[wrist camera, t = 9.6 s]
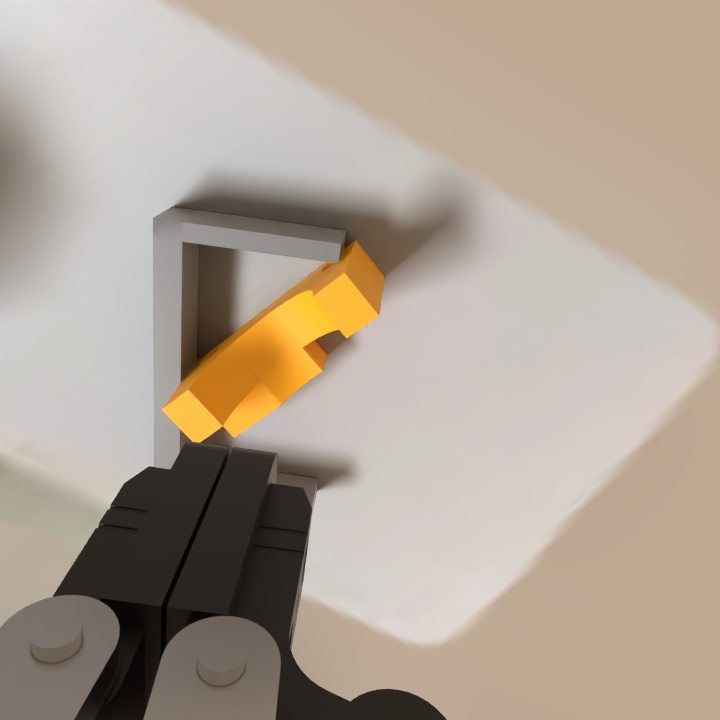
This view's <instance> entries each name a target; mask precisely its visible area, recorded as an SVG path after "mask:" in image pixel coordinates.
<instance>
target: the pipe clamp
mask: <svg viewBox="0 0 720 720" xmlns="http://www.w3.org/2000/svg"><path fill="white" fill-rule="evenodd" d="M384 278H385V277H384V275H383V274H382V273H381V272H380V270H379V269H378V268H377V267H376V265H375V264H374V263H373V261H372V260H371V259H370V258H369V256H368V255H367V254H366V253H365V251H364V250H363V249H362V247H361V246H360V245H359V244H358V242H357V241H356V240H355V241H354V242H352V243H351V244H350V245H349V246H347V247H346V248H345V249H344V251H343V254H342V256H341V259H340V261H339V263H333V262H326V263H325V264H324V265H322V266H321V267H320V268H318V269H317V270H316V271H314V272H313V273H312V274H310V275H309V276H308V277H307V278H305V279H304V280H303V281H301V282H300V283H299V284H297V285H296V286H295V287H293V288H292V289H291V290H290V291H288V292H287V293H286V294H284V295H283V296H282V297H280V298H279V299H278V300H276V301H275V302H274V303H272V304H271V305H270V306H269V307H267V308H266V309H265V310H263V311H262V312H261V313H259V314H258V315H257V316H255V317H254V318H253V319H251V320H250V321H249V322H248V323H246V324H245V325H244V326H242V327H241V328H240V329H238V330H237V331H236V332H234V333H233V334H232V335H230V336H229V337H228V338H227V339H225V340H224V341H223V342H221V343H220V344H219V345H217V346H216V347H215V348H213V349H212V350H211V351H209V352H208V353H207V354H206V355H204V356H203V357H202V358H200V359H199V360H198V361H197V362H196V364H195V365H194V366H193V368H192V369H191V370H190V372H189V373H188V375H187V376H186V377H185V379H184V380H183V381H182V383H181V384H180V385H179V387H178V388H177V389H176V391H175V392H174V393H173V395H172V396H171V397H170V399H169V400H168V402H167V403H166V404H165V406H164V407H163V408H162V411H163V412H164V413H165V414H166V415H167V416H168V417H169V418H170V419H171V420H172V421H173V422H174V423H175V424H176V425H177V426H178V427H179V428H180V429H181V430H182V431H183V432H184V433H185V435H186V436H187V437H188V438H189V439H190V440H191V441H192V442H199V443H200V442H202V441H203V440H204V439H206V438H207V437H209V436H210V435H211V434H213V433H214V432H216V431H217V430H219V429H220V428H221V427H224V428H225V429H226V430H227V431H228V432H229V433H230V434H231V435H232V436H233V437H236V436H237V435H239V434H240V433H242V432H243V431H245V430H246V429H247V428H249V427H250V426H252V425H253V424H255V423H256V422H257V421H259V420H260V419H262V418H263V417H265V416H266V415H267V414H269V413H270V412H272V411H273V410H275V409H276V408H278V407H279V406H280V405H281V404H282V403H283V402H285V401H286V400H287V399H288V398H289V397H290V396H291V395H292V394H293V393H294V392H296V391H297V390H298V389H299V388H300V387H302V386H303V385H304V384H305V383H307V382H308V381H309V380H311V379H312V378H313V377H315V376H316V375H318V374H319V373H321V372H322V371H323V368H324V365H325V361H326V358H327V354H326V353H325V352H324V350H323V349H322V348H321V347H320V346H319V345H318V343H317V342H316V341H315V339H317V338H319V337H321V336H323V335H325V334H327V333H329V332H332V331H335V330H340V331H341V332H342V334H343V335H344V336H345V337H346V338H348V337H350V336H351V335H352V334H354V333H355V332H357V331H358V330H359V329H361V328H362V327H364V326H365V325H367V324H368V323H369V322H371V321H372V320H374V319H375V318H376V317H378V316H379V312H380V305H381V298H382V292H383V285H384Z"/></svg>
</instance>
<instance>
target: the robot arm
mask: <svg viewBox="0 0 720 720" xmlns="http://www.w3.org/2000/svg"><path fill="white" fill-rule="evenodd" d="M277 464H278V454H277V453H272V452H265V451H257V450H250V449H243V448H236V447H234V448H233V449H232V448H231V447H228V446H220V445H213V444H206V443H199V442H192V441H187V442H186V443H185V444H184V445H183V447H182V449H181V451H180V453H179V455H178V456H177V458H176V460H175V462H174V464H173V466H172V467H171V469H164V468H157V467H150V466H149V467H148V468H146V469H145V470H143V471H142V472H140V473H139V474H137V475H136V476H134V477H133V478H131V479H130V480H129V481H127V482H126V483H124V485H123V486H122V488H121V490H120V491H119V493H118V494H117V496H116V497H115V499H114V501H113V502H112V504H111V507H110V510H107V512H106V513H105V515H104V516H103V518H102V520H101V521H100V523H99V527H98V528H96V529H95V531H94V532H93V534H92V535H91V537H90V538H89V540H88V542H87V543H86V545H85V546H84V548H83V550H82V551H81V553H80V554H79V556H78V558H77V559H76V561H75V562H74V564H73V565H72V567H71V568H70V570H69V572H68V573H67V575H66V576H65V578H64V580H63V581H62V583H61V584H60V586H59V587H58V589H57V591H56V592H55V594H54V595H53V597H51V598H47V599H43V600H41V601H38V602H35V603H33V604H31V605H29V606H27V607H25V608H23V609H22V610H20V611H18V612H17V613H15V614H14V615H13V616H12V617H10V618H9V619H8V620H7V621H6V622H5V623H4V624H3V625H2V627H1V628H0V720H446V718H445V717H444V716H443V715H442V714H441V713H440V712H439V711H438V710H437V709H436V708H435V707H434V706H432V705H431V704H430V703H429V702H427V701H425V700H424V699H422V698H420V697H418V696H416V695H414V694H411V693H409V692H405V691H401V690H393V689H380V690H374V691H370V692H367V693H365V694H362V695H360V696H358V697H356V698H355V699H353V700H352V701H351V702H350V701H348V700H346V699H344V698H342V697H340V696H337V695H335V694H333V693H331V692H329V691H327V690H325V689H323V688H322V687H320V686H318V685H317V684H315V683H314V682H313V681H311V680H310V679H309V678H308V677H307V676H306V675H305V674H304V673H303V672H302V671H301V669H300V668H299V666H298V665H297V664H296V661H295V659H294V657H293V655H292V652H291V647H292V642H293V636H294V630H295V625H296V619H297V613H298V607H299V602H300V597H301V591H302V585H303V579H304V571H305V563H306V555H307V547H308V540H309V532H310V524H311V516H312V507H311V505H310V502H309V500H308V498H307V495H306V493H305V491H304V488H302V487H295V486H288V485H280V484H276V475H277Z"/></svg>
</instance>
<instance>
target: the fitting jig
mask: <svg viewBox="0 0 720 720" xmlns="http://www.w3.org/2000/svg"><path fill="white" fill-rule="evenodd" d="M345 239H346V230H339V229H332V228H325V227H318V226H310V225H303V224H296V223H288V222H281V221H274V220H267V219H259V218H252V217H245V216H237V215H230V214H223V213H216V212H208V211H201V210H194V209H186V208H179V207H171V208H170V209H168V210H166V211H164V212H163V213H161V214H159V215H157V216H156V217H154V218H153V305H154V467H157V468H164V469H171V467H172V466H173V464H174V462H175V460H176V458H177V456H178V455H179V453H180V451H181V449H182V447H183V445H184V444H185V443H186V442H187V441H191V440H190V439H189V438H188V437H187V436H186V435H185V433H184V432H183V431H182V430H181V429H180V428H179V427H178V426H177V425H176V424H175V423H174V422H173V421H172V420H171V419H170V418H169V417H168V416H167V415H166V414H165V413H164V412H163V411H162V408H163V407H164V406H165V404H166V403H167V402H168V400H169V399H170V397H171V396H172V395H173V393H174V392H175V391H176V389H177V388H178V387H179V385H180V384H181V383H182V381H183V380H184V379H185V377H186V376H187V375H188V373H189V372H190V370H191V369H192V368H193V366H194V365H195V364H196V362H197V324H198V280H199V244H202V245H210V246H217V247H224V248H231V249H239V250H246V251H253V252H260V253H268V254H275V255H282V256H289V257H296V258H304V259H311V260H318V261H325V262H333V263H339V261H340V259H341V256H342V254H343V251H344V248H345ZM276 484H280V485H288V486H295V487H302V488H304V491H305V493H306V495H307V498H308V500H309V502H310V505H311V507H312V511H313V506H314V502H315V498H316V493H317V487H318V478H312V477H305V476H298V475H291V474H285V473H278V472H277V475H276Z"/></svg>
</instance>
